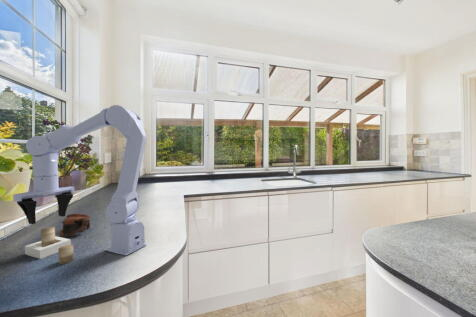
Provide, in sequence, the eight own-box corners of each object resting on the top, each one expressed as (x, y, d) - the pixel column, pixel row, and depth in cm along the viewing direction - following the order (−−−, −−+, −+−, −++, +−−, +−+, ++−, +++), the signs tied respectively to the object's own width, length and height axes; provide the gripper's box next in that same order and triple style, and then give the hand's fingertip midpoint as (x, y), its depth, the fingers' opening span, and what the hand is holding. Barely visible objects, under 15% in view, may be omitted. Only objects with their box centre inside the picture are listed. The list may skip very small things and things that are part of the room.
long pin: (58, 249, 67) (57, 227, 67) (45, 253, 64) (45, 230, 64) (51, 247, 68) (50, 226, 68) (39, 252, 65) (38, 229, 65)
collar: (71, 247, 68) (70, 239, 68) (40, 259, 61) (39, 250, 61) (56, 243, 71) (56, 236, 71) (25, 254, 64) (24, 246, 64)
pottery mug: (51, 238, 77) (58, 215, 81) (77, 240, 85) (83, 219, 89) (73, 233, 73) (79, 209, 77) (98, 236, 81) (103, 214, 85)
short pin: (76, 259, 60) (75, 245, 60) (63, 265, 57) (62, 250, 57) (69, 257, 61) (68, 243, 61) (56, 262, 58) (55, 248, 58)
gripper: (64, 173, 73) (66, 212, 74) (6, 178, 60) (8, 225, 60) (77, 173, 71) (79, 214, 71) (19, 179, 57) (22, 228, 58)
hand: (47, 219), depth 66 cm, fingers open, 7 cm apart
